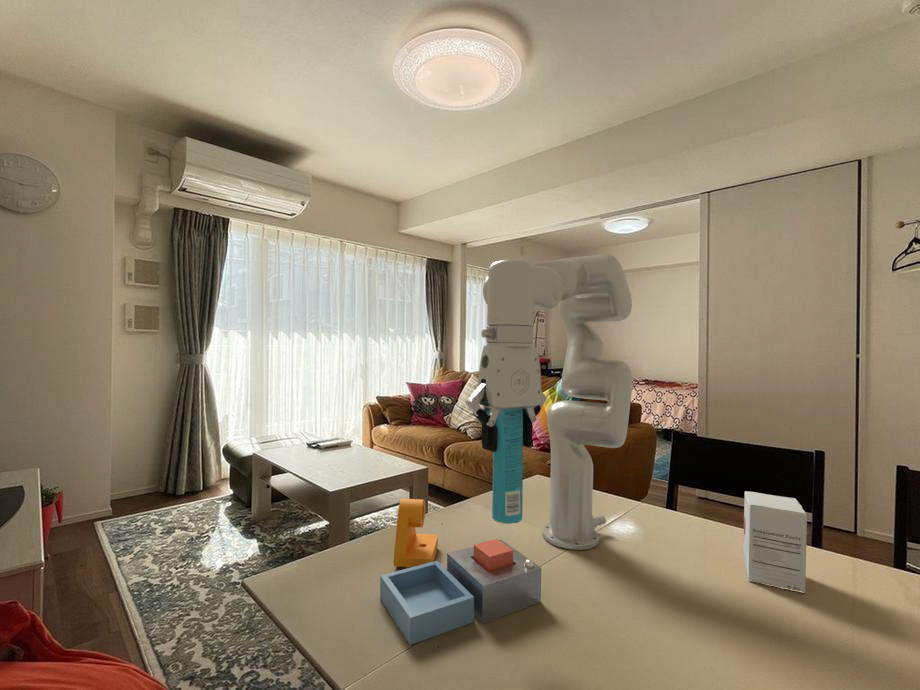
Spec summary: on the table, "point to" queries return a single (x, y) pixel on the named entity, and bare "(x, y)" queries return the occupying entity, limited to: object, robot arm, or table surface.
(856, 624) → the table surface
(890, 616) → the table surface
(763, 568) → the supplement box
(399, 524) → the bracket
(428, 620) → the blue open tray
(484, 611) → the box
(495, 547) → the button
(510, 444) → the tube
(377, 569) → the table surface
